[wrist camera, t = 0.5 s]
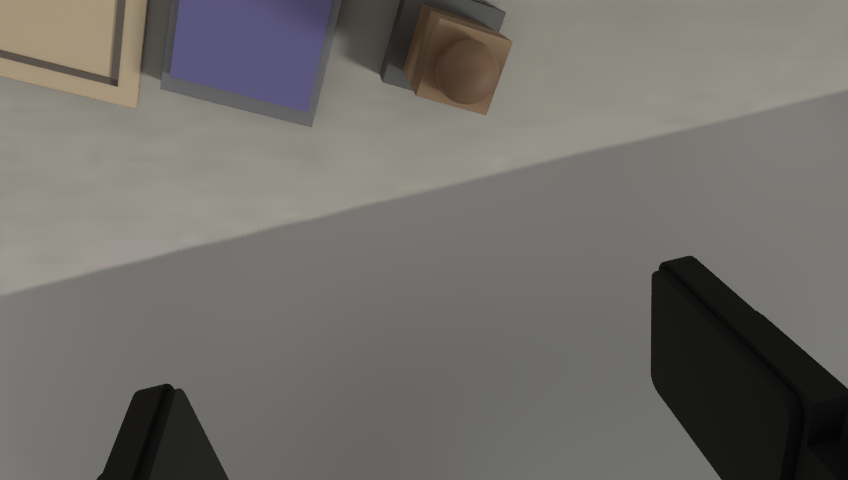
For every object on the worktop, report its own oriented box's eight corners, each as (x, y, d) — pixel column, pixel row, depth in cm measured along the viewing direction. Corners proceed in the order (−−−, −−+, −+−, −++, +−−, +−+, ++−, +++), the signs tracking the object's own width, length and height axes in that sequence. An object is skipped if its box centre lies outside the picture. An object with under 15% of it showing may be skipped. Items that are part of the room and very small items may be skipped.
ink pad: (194, -137, 32) (186, -141, 30) (358, -79, 34) (360, -79, 32) (166, 82, 36) (158, 90, 35) (312, 119, 39) (311, 129, 37)
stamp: (406, -23, 36) (435, -4, 27) (497, 8, 37) (553, 35, 28) (379, 74, 38) (397, 122, 29) (465, 99, 40) (507, 151, 31)
